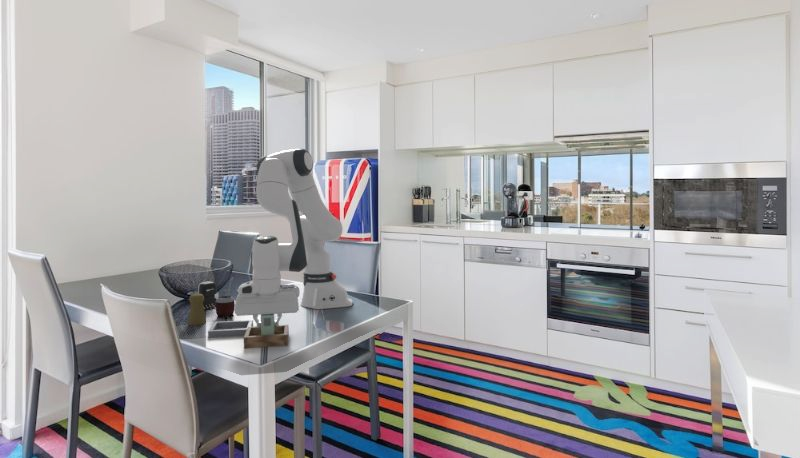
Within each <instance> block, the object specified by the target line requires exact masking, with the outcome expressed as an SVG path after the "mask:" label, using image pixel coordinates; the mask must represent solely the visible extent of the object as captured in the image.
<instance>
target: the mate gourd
mask: <svg viewBox="0 0 800 458" xmlns="http://www.w3.org/2000/svg"><path fill="white" fill-rule="evenodd" d="M233 280H234V276H232V277H231V279H230V280H229V283H228V292H227V295H221V296H218V297H217V298H216V300H215V313H216V315H217V316H216V319H223V318H224V319H225V320H228V318H233V317H235V315H234V314H235V298H234V297H233V296H232V295H230V292H231V286H232V282H233Z"/></svg>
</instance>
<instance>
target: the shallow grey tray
mask: <svg viewBox="0 0 800 458" xmlns="http://www.w3.org/2000/svg"><path fill="white" fill-rule="evenodd" d="M248 327H254V319H243V320H241V319H240V320H227V321H226V320H225V321H223V320H222V321H214V322H213V323H212V325H211V326H210V328H209V329H208V331H207V337H208V338H212V339H213V338H228V337H230V338H231V337H244V335H245V333H246V330H247V328H248Z"/></svg>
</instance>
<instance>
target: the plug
mask: <svg viewBox="0 0 800 458" xmlns="http://www.w3.org/2000/svg"><path fill="white" fill-rule="evenodd" d="M260 321H261V335H275V327H274V321H275V314H263V315H260Z"/></svg>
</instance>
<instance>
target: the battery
mask: <svg viewBox="0 0 800 458" xmlns="http://www.w3.org/2000/svg"><path fill="white" fill-rule="evenodd" d="M197 294H202V295H203V296H204V301H203V307H204V312H205V311H208V310H209V311H210V310H213V309H216V307H215V303H216V300H215V299H216V298H215V297H216V296H215V295H216V294H217V285H216V283H215V282H213V281H204V282H200V283H199V284H198V285H197Z"/></svg>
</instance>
